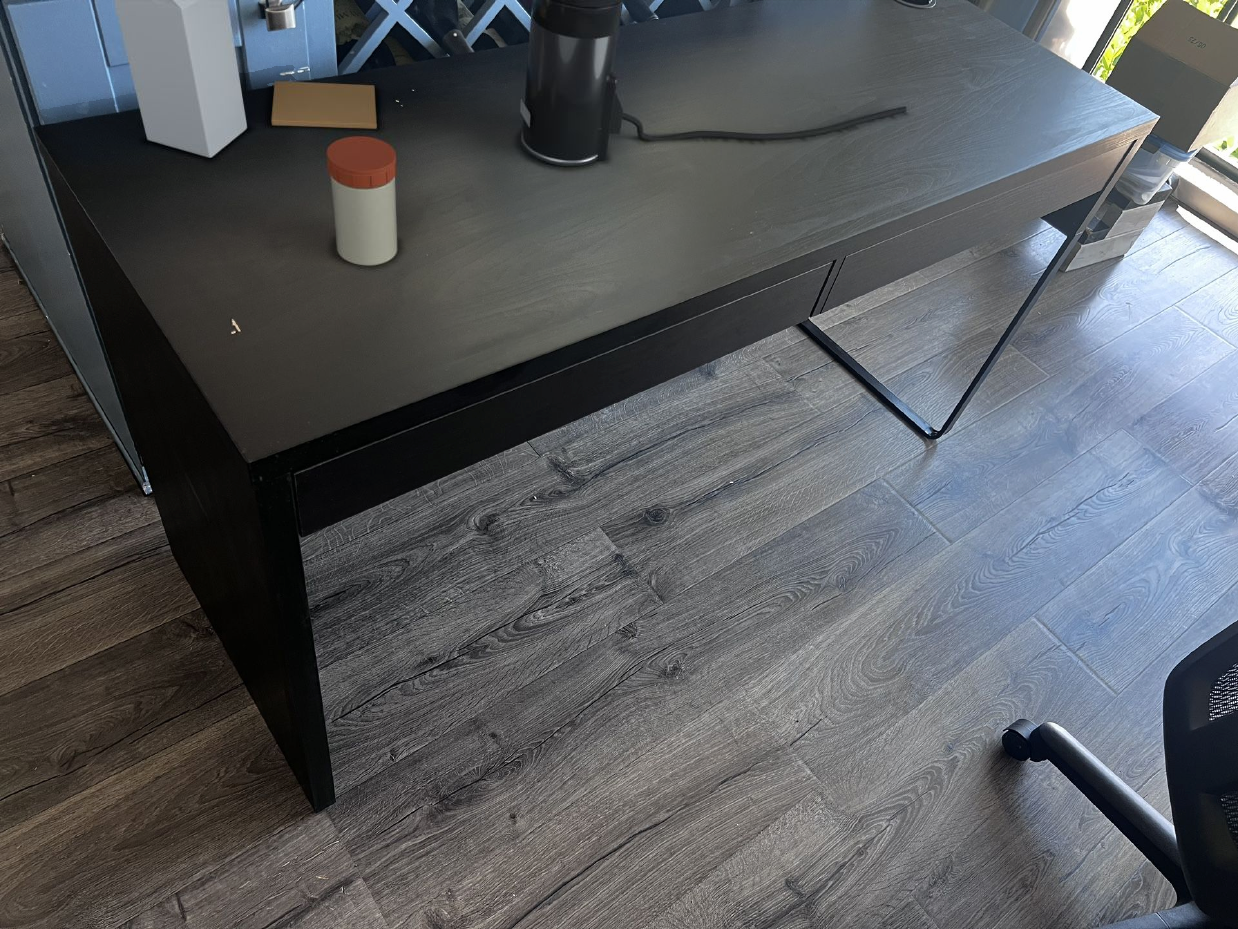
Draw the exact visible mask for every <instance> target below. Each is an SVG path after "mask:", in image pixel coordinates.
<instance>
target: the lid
mask: <svg viewBox="0 0 1238 929" xmlns="http://www.w3.org/2000/svg"><path fill="white" fill-rule="evenodd" d="M326 159H327V161H326V162H327V173H328V174H329V176H330V175H331V177H332V178H333V179H334V180H336V181H337V182H339V183H341V184H343V185H346V186H350V187H355V188H374V187H379V186H383V185H385V184H387V183H389V182H390V181H391V180H393V178H394V177H395V178H396V176H397V154H396V151H395V149H394V147H393V146H392V145H390V144H389V143H387V142H386V141H384V140H381V139H379V138H375V137H371V136H362V135H361V136H359V135H355V136H347V137H343V138H340V139H338V140H335V141H334V142H332V143H331V144H330V145H329V146H328V147H327V149H326Z"/></svg>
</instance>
